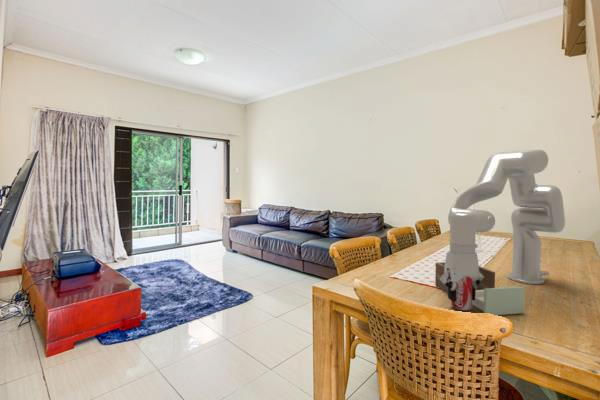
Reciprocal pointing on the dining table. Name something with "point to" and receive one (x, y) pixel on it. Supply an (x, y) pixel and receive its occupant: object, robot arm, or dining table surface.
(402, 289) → the dining table surface
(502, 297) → the pale green drawer
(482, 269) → the box
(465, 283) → the beverage can
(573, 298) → the dining table surface
